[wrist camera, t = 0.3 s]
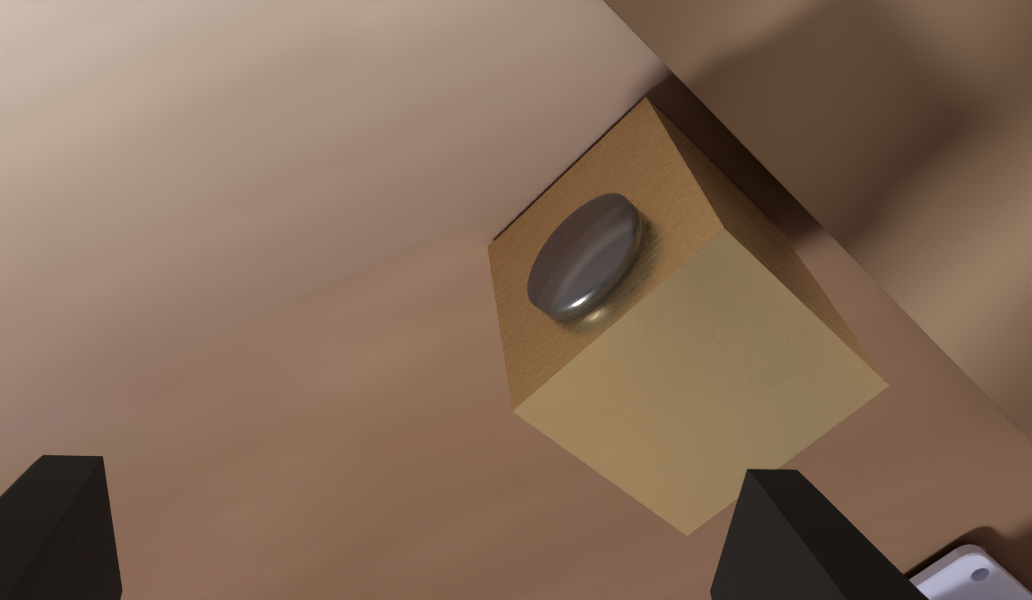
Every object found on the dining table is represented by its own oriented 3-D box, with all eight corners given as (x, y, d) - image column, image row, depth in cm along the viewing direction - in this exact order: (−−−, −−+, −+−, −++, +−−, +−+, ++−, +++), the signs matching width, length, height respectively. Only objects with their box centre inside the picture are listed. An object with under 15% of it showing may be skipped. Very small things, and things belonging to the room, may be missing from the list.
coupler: (792, 242, 21) (901, 397, 16) (639, 369, 23) (700, 545, 18) (632, 82, 19) (707, 211, 14) (473, 236, 20) (494, 399, 16)
